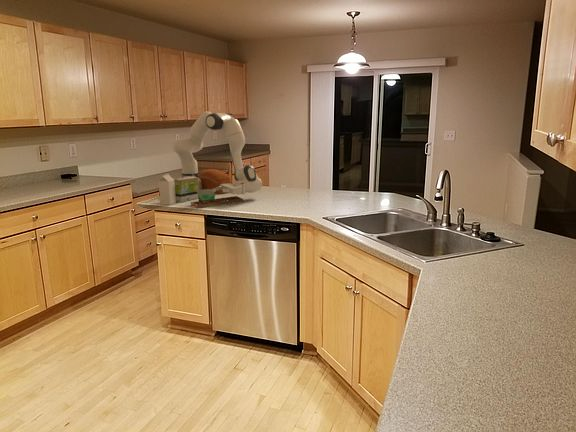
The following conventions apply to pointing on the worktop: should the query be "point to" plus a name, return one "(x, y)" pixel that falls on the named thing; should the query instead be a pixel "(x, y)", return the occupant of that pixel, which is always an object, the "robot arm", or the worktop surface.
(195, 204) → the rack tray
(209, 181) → the bread
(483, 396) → the worktop surface
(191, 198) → the tea box
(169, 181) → the milk carton
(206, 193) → the food container
